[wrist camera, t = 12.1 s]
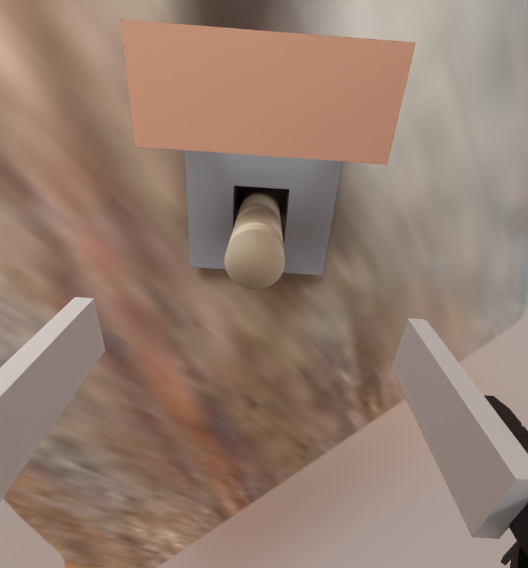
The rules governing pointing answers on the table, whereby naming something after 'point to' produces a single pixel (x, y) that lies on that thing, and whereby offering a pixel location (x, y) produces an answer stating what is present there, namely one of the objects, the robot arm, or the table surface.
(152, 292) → the table surface
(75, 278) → the table surface
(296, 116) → the socket porch
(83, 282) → the table surface
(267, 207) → the peg
